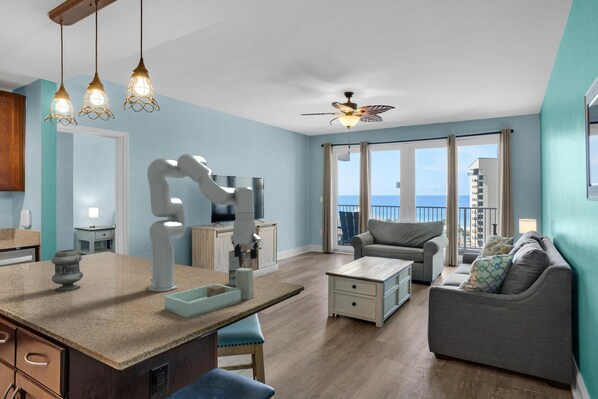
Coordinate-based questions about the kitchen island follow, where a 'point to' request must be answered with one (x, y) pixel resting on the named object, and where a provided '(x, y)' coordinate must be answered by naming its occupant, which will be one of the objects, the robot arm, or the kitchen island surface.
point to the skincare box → (245, 282)
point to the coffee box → (236, 264)
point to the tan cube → (215, 290)
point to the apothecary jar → (67, 269)
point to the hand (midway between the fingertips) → (245, 257)
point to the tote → (200, 301)
